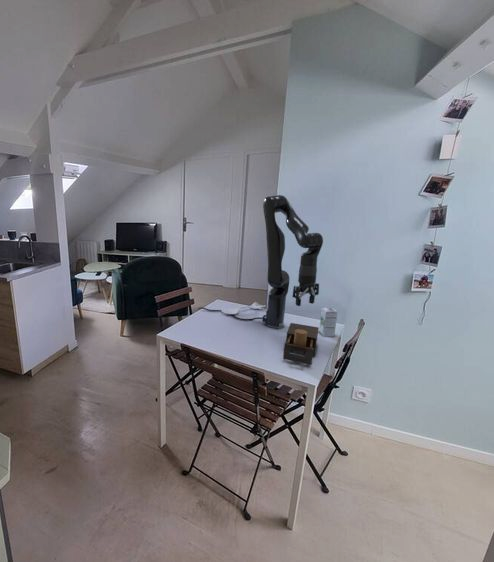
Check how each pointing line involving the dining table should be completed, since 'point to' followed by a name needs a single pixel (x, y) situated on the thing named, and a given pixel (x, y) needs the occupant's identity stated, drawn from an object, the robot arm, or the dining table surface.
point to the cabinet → (311, 333)
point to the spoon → (236, 310)
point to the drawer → (298, 351)
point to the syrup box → (328, 321)
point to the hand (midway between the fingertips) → (304, 304)
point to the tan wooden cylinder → (300, 337)
